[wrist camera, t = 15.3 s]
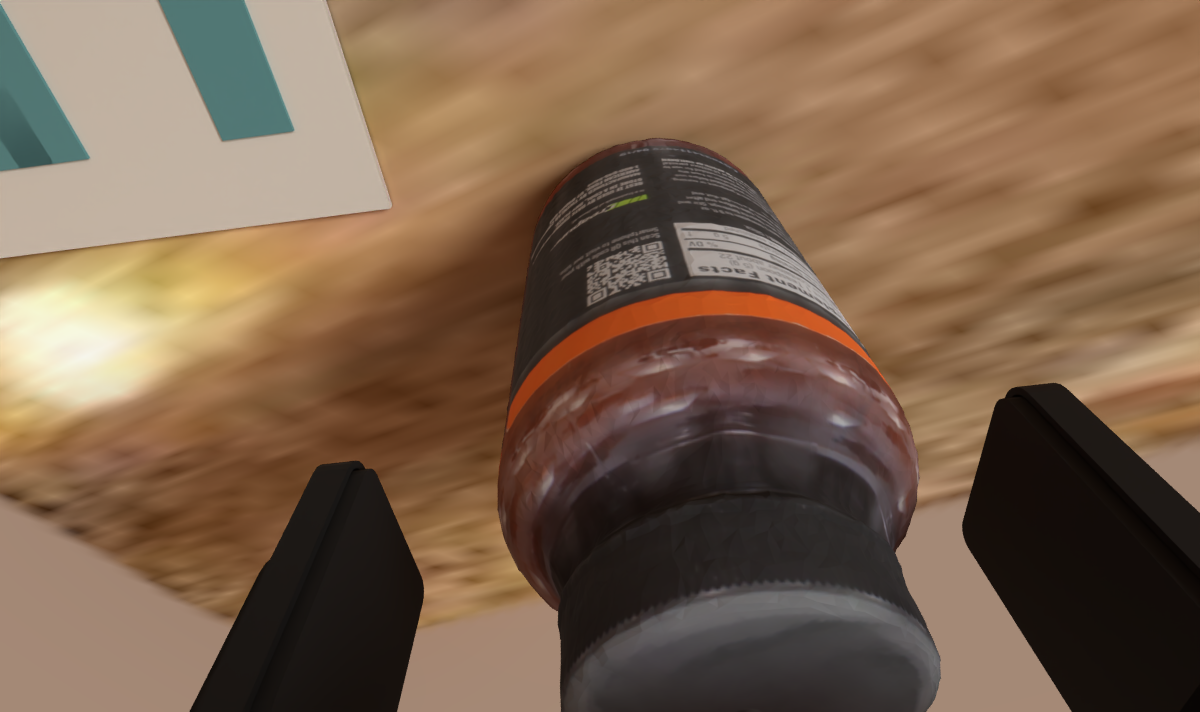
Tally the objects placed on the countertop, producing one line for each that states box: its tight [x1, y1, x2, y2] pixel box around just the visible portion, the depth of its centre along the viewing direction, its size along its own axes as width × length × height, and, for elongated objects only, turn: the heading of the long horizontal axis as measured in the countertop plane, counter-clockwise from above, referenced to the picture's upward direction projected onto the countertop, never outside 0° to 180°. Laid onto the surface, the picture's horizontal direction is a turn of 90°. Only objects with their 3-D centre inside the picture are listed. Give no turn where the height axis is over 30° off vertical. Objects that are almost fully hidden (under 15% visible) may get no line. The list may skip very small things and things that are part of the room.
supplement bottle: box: [498, 138, 941, 712], centre depth 11 cm, size 6×6×11 cm
